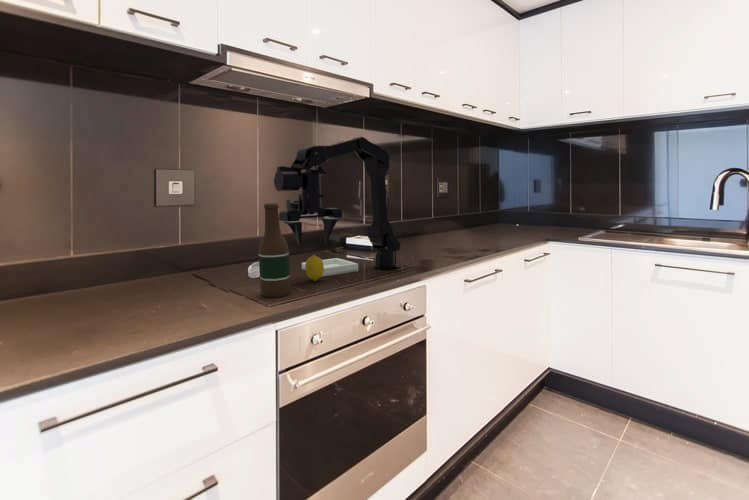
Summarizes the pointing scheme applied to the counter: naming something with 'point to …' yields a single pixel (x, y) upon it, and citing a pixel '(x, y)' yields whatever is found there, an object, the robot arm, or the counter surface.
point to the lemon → (314, 267)
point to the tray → (336, 266)
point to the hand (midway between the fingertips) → (313, 243)
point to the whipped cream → (254, 270)
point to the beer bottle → (273, 256)
